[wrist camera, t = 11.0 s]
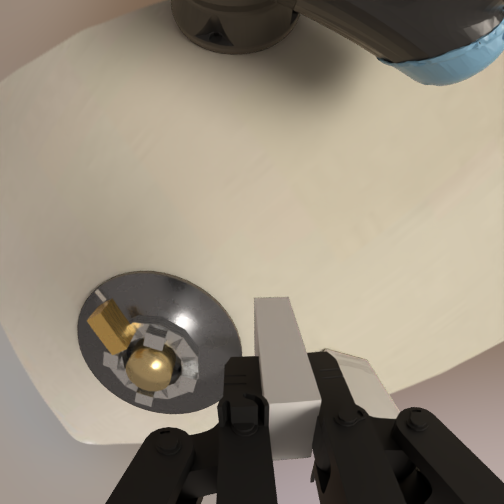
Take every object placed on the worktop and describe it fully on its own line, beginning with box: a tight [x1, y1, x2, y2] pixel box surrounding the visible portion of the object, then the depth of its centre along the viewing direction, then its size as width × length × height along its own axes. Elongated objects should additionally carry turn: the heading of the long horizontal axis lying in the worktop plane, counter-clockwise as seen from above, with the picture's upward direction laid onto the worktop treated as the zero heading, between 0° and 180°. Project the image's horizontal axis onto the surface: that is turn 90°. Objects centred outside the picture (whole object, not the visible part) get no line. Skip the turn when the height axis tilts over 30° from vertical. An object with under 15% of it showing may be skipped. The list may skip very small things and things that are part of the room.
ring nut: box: [87, 298, 200, 407], centre depth 38 cm, size 17×13×6 cm
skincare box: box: [324, 349, 400, 419], centre depth 37 cm, size 8×7×16 cm
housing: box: [78, 271, 242, 414], centre depth 40 cm, size 24×24×6 cm
